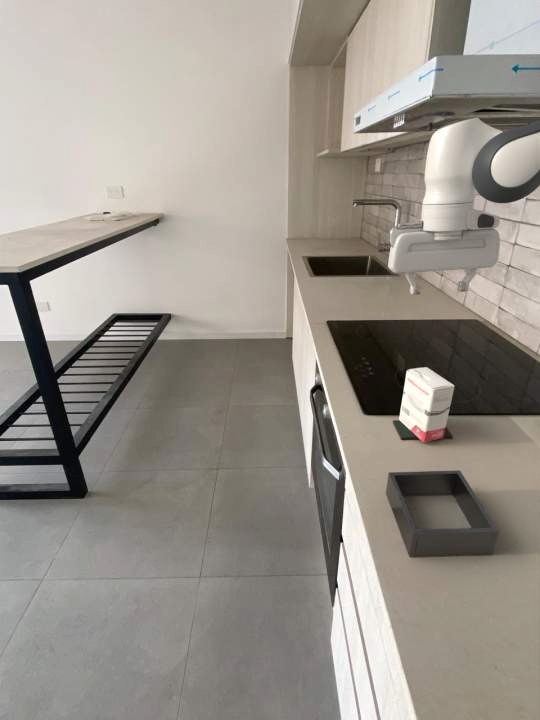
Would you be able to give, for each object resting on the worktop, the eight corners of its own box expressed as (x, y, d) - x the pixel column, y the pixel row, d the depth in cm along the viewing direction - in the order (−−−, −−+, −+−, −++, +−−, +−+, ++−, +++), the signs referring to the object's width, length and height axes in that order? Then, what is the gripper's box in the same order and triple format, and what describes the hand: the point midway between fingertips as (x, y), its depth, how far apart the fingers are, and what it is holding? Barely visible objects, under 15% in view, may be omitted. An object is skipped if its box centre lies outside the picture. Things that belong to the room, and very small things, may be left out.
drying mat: (440, 421, 83) (440, 418, 83) (452, 438, 77) (452, 436, 77) (392, 422, 83) (392, 420, 83) (401, 440, 77) (401, 437, 77)
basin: (455, 491, 65) (460, 470, 63) (492, 555, 54) (499, 531, 52) (385, 493, 65) (388, 472, 63) (409, 557, 54) (413, 533, 52)
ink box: (445, 438, 77) (456, 384, 71) (423, 443, 75) (432, 389, 70) (418, 414, 84) (426, 364, 79) (397, 419, 83) (404, 368, 78)
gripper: (395, 224, 71) (391, 299, 77) (509, 217, 71) (497, 292, 76) (385, 222, 77) (382, 292, 83) (491, 215, 77) (481, 286, 82)
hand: (438, 292), depth 79 cm, fingers open, 8 cm apart
